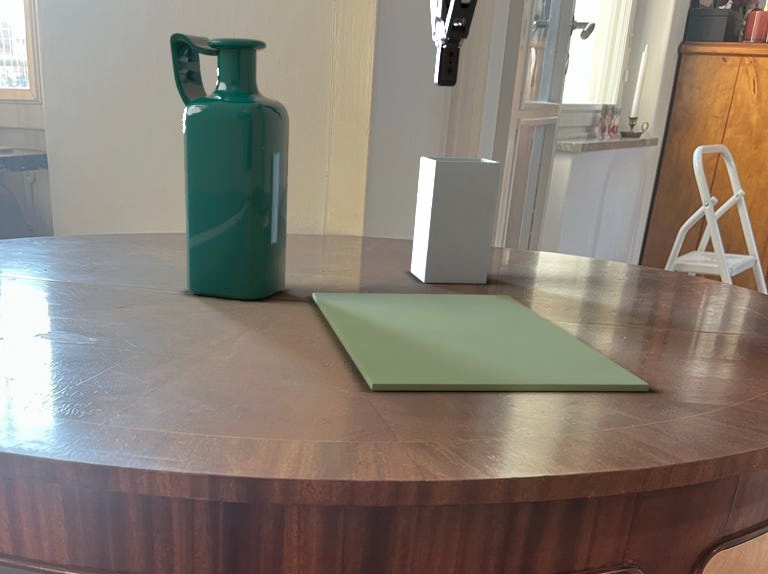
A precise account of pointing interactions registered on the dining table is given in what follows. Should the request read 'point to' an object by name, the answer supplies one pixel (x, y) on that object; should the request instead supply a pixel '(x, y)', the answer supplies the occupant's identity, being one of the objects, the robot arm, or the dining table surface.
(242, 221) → the pitcher
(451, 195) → the bin
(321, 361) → the dining table surface
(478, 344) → the mat
